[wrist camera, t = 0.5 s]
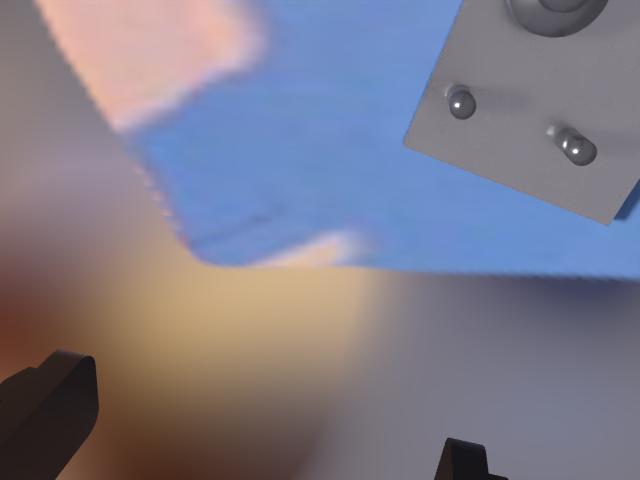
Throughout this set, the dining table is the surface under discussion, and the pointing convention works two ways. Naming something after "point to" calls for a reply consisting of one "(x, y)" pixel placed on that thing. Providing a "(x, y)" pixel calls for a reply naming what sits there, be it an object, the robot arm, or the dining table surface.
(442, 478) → the robot arm
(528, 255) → the dining table surface
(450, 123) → the plate
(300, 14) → the dining table surface
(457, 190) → the dining table surface
